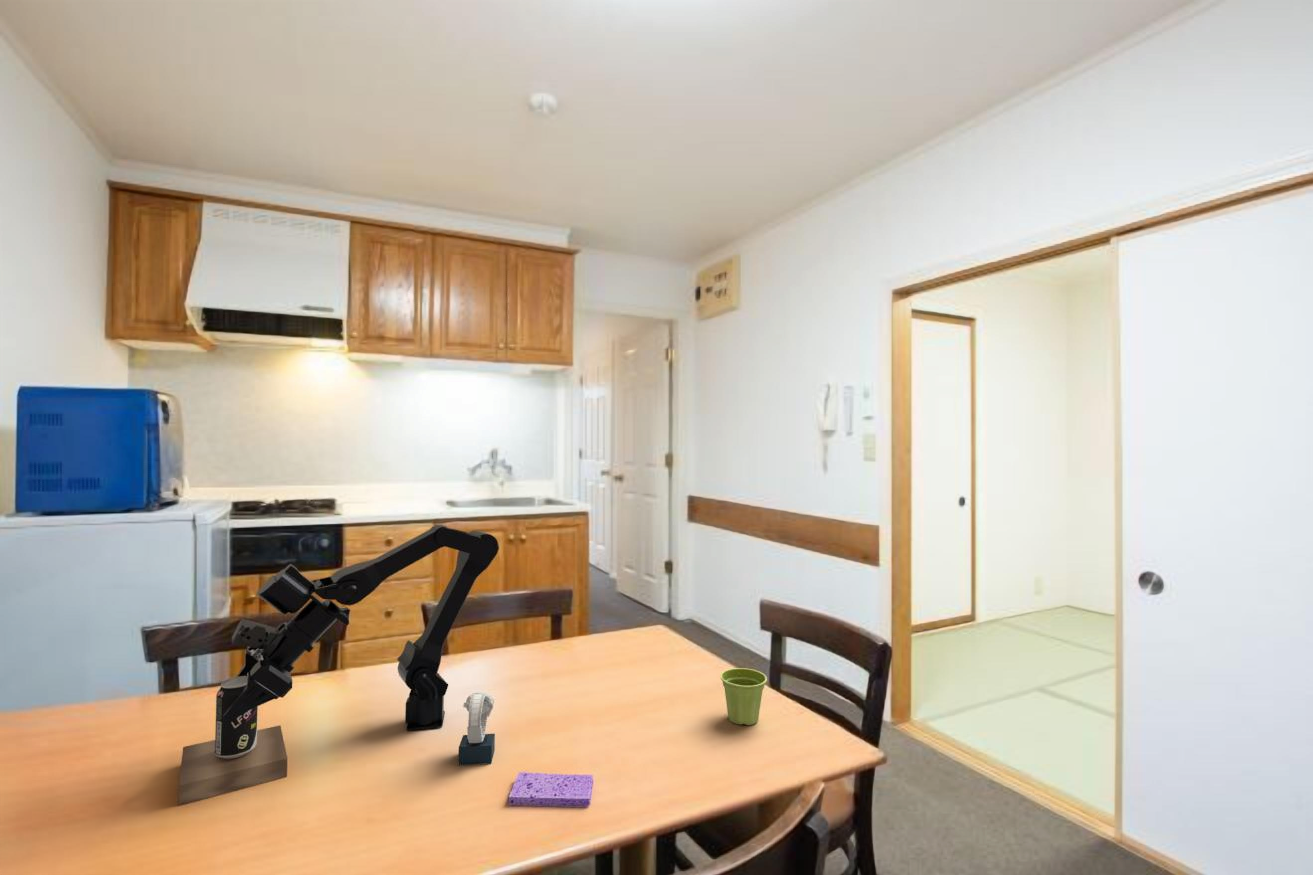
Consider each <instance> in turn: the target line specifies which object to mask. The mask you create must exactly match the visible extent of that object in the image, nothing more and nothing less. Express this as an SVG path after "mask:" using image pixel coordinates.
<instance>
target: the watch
mask: <svg viewBox="0 0 1313 875" xmlns="http://www.w3.org/2000/svg"><path fill="white" fill-rule="evenodd" d="M494 704H495V698H494V696H493V695H491V694H489V693H487V692H483V691H482V692H481V691H480V692H478V691H477V692H474V693H473V692H472V693H471V694H469V696H467V698H466V702H463V706H462V707H463V708H466V710H467V712H468V719H467V722H468V725H467V727H466V729H467V731H466V732H467V734H463V736H462V737H461V740H460V743H459V745H458V756H457V757H458V759H457V760H458V761H457V764H458V766H471V765H489V764H492V762H493V758H494V754H495V752H496V751H495V748H496V746H495V745H496V744H495V741H496V740H495V739H496V738H495V736H496V733H486V730H487V722H488V718H489V717H490V715H491V712H492V710H493V708H494Z"/></svg>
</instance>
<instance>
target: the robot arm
mask: <svg viewBox="0 0 1313 875" xmlns="http://www.w3.org/2000/svg"><path fill="white" fill-rule="evenodd" d="M443 547H445V548H448V549H453V550H457V551H458V552H457V558H456V564H455V565H456V566H455V570H454V572H453V573H452V576H451V577H450V580H449V581H448V584H447V586H446V587H445V589H444V591H443V593H442V595H441V596H440V599H439V601H438V603H437V605H436V607H435V609H434V611H433V613H432V614H431V617H430V619H429V621H428V622H427V625H426V627H425V629H424V631H423V632H422V634H421V635H420V636H419V637H418V638H417V639H416V640H415V641H414V642H412V641H411V640H407V641H406V643H405V646H404V648H403V650H402V652H401V654H400V655H399V656H398V657H397V658H396V660H397V661H398V664H397V673H398V675H399V678H401V680H402V681H403V682H404V684H405V685H406V687H408V688H409V689H410V691H409V694H408V697H407V698H406V701H405V710H404V711H405V714H404V715H405V718H404V719H405V720H404V721H405V724H407V725H406V731H408V732H409V731H417V730H426V729H436V728H437V729H438V728H442V727H443V724H444V719H445V715H446V712H445V705H444V704H445V696H446V694H447V691H448V688H449V684H448V682H446V680H445V679H444V678H443V677H442V676H441V675H440V673H439V668H440V666H441V662H442V661H441V660H442V655H443V654H442V653H443V646H444V645H445V642H446V640H447V638H448V635H449V634H450V632H451V630H452V628H453V626H454V624H455V621H456V620H457V617H458V616H459V614H460V612H461V609H462V608H463V606H464V603H465V602H466V600H467V599H468V598H467V597H468V595H469V594H470V592H471V590H472V588H473V586H474V584H475V582H476V580H477V579H478V577H480V575H482V573H483V572H485V571H486V570H487V569H488V568H489V567H490V565H491V564H492V562H493V561H494V559H495V558H496V557H497V555H498V553H499V550H500V545H499V542H498V539H497V538H496V537H495V535H492V534H490V533H487V532H484V531H481V530H478V529H476V530H471V531H469V532H467V531H463V530H460V529H455V528H452V527H448V526H446V525H444V524H435V525H433V526H432V527H431V528H429V529H428V530H426V531H425V532H422V533H420V534H419V535H417V536H415V537H413V538H411V539H409V540H407V541H405V542H404V543H402V544H400V545H397V547H395V548H393V549H391V550H389V551H386V552H385V553H383V554H382V555H381V554H380V555H379V556H378V557H375V558H373V559H370V560H367V561H362V562H358V563H354V564H352V565H348V566H345V567H344V568H341V569H338V570H337V571H334V572H333V573H332V575H330V576H326V577H322V578H318V579H317V578H316V579H313V580H310V579H309V578H307V577H306V576H305V575H303V573H301V572H300V571H299V570H298V568H297V567H296V566H295V565H293V564H291V563H290V564H288V565H287V566H286V567H284V568H283V569H281V570H280V571H278V572H277V573H276V574H275V575H271V576H270V578H268V579H267V580H266V581H265V582H264V583H263V584H262V586H260V588H259V589H258V590H257V592H256V596H258V597H259V598H260V599H261V600H263V601H264V602H265V603H267V604H268V605H270V606H271V607H273V608H274V609H275V610H277V611H278V612H279V613H281V614H282V615H287V614H291V615H292V614H295V615H294V616H293V617H292V618H291V619H290V620H289V621H288V622H286V621H284V622H281V623H280V624H279V625H278V626H276V627H274V626H272V625H271V626H270V625H268V624H265V623H262V622H256V621H252V620H248V619H243V618H242V619H241V620H240V621H239V623H238V624H237V627H236V629H235V630H234V632H233V634H232V635H231V643H232V644H233V645H234V646H238V647H242V646H243V647H246V648H247V649H245V650H244V664H243V666H242V667H241V668H240V670H239V671H238V673H237V675H236V676H235V677H239V676H247V686H246V687H245V688H244V690H243V691H242V692H241V693H240V695H239V696H238V697H237V699H236V700H235V701H234V702H233V704H232V705H231V706H230V708H229V709H228V710H227V712H226V713H225V714H224V718H225V719H227V720H231V719H233V718H235V717H237V716H239V715H241V714H243V713H245V712H247V711H249V710H251V709H253V708H255V707H257V706H258V707H259V706H261V705H264V704H266V703H268V702H270V701H273V700H278V699H279V698H284V697H285V696H286V695H287V694H288V693H289V692H290V691H291V690H292V689H293V677H292V675H291V674H292V673H291V672H292V671H293V670H294V669H295V666H294V664H295V663H296V662H297V661H298V660H299V659H300V658H301V657H302V656H303V655H304V654H305V653H306V652H307V653H311V652H312V651H313V650H314V648H315V647H314V644H315V642H317V641H318V639H320V638H321V636H322V635H323V634H325V633H326V631H327V630H328V629H330V627H332V626H333V625H334V623H335V622H336V621H339V622H340V623H342V624H343V625H344V626H348V625H349V624H350V618H349V617H350V612H351V610H350V607H347V606H354V605H355V604H359V603H360V602H361V601H363V600H364V599H365V598H367V597H368V596H369V595H370V594H372V593H373V592H374V591H375V590H377V588H378V587H379V586H380V585H381V584H382V583H383V582H384V581H385V580H387V579H388V578H390V577H391V576H394V575H395V574H396V573H398V572H400V571H402V570H404V569H405V568H406V569H407V568H408V567H409V566H411V565H413V564H415V563H416V562H418V561H420V560H422V559H423V558H425V557H427V556H429V555H430V554H432V553H434V552H436V551H437V550H439V549H441V548H443ZM314 594H315V595H314ZM316 595H317V596H316ZM320 598H321V599H320ZM323 600H324V601H323ZM334 601H336V602H334ZM336 603H338V604H341V605H344V606H346V607H340V606H339V605H338V604H336Z"/></svg>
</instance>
